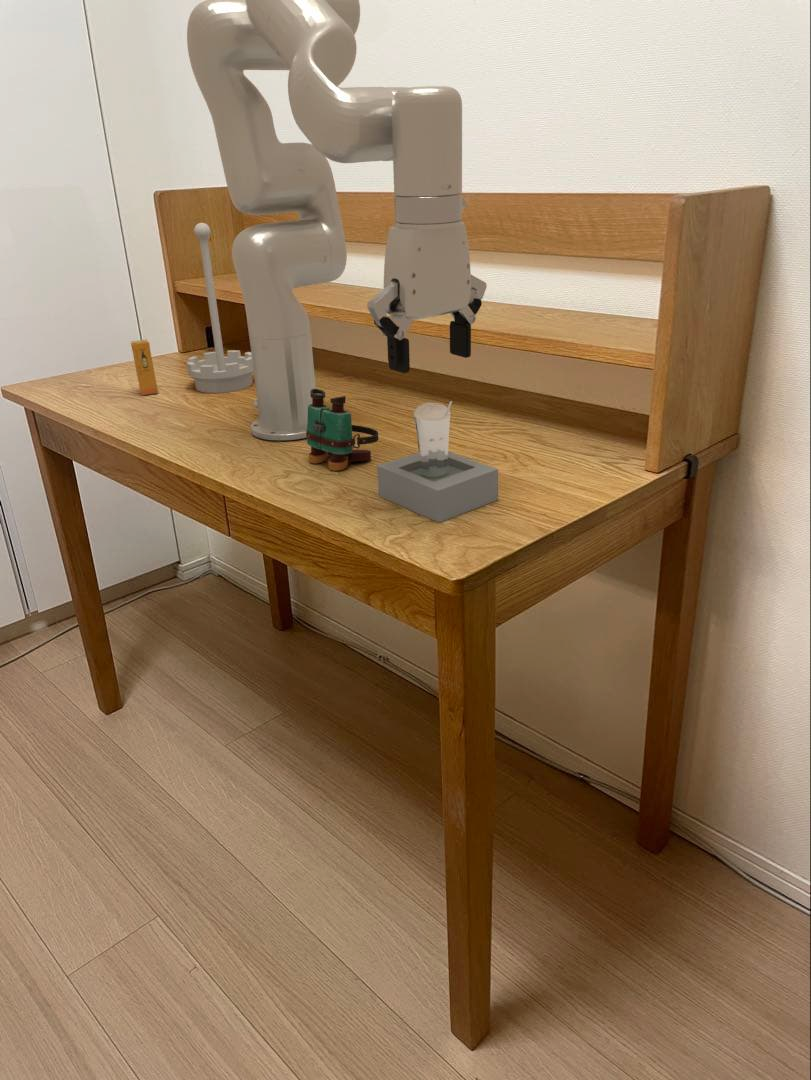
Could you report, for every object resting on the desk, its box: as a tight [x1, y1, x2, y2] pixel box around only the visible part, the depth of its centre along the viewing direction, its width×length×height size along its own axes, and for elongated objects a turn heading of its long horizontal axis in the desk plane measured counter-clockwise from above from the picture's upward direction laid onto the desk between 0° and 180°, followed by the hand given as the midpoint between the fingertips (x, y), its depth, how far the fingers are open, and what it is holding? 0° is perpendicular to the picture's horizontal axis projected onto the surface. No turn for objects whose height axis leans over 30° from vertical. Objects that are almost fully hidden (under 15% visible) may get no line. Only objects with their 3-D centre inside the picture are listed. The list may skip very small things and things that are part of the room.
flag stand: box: [186, 222, 254, 394], centre depth 159 cm, size 13×13×30 cm
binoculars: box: [306, 388, 379, 472], centre depth 122 cm, size 9×11×10 cm
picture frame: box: [376, 451, 499, 524], centre depth 108 cm, size 12×10×4 cm
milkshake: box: [413, 400, 453, 478], centre depth 106 cm, size 5×5×10 cm
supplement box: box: [130, 339, 159, 396], centre depth 160 cm, size 3×3×10 cm
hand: (430, 362), depth 102 cm, fingers open, 9 cm apart
